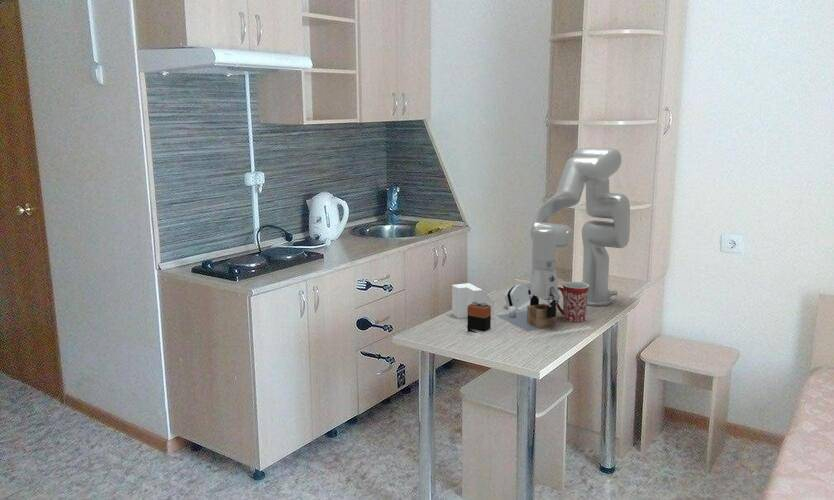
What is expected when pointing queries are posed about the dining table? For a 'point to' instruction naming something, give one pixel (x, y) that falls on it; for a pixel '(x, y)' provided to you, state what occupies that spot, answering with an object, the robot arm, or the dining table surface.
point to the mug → (574, 301)
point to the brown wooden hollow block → (539, 316)
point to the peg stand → (519, 319)
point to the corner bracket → (468, 299)
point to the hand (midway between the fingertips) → (542, 313)
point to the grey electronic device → (518, 297)
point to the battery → (479, 317)
